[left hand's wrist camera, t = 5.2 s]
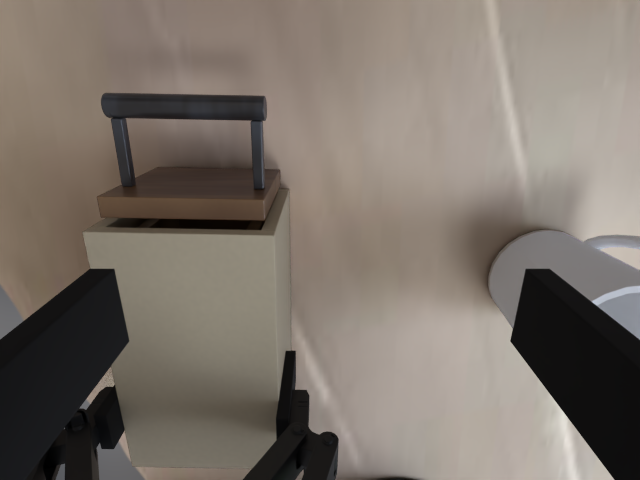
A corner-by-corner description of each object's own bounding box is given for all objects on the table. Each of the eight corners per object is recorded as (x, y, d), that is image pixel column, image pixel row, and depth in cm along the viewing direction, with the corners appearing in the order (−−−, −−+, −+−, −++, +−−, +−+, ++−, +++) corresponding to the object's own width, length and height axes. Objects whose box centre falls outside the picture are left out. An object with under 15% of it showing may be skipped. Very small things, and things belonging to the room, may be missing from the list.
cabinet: (157, 186, 30) (81, 231, 21) (289, 189, 30) (274, 235, 21) (181, 368, 36) (132, 466, 27) (291, 370, 36) (280, 469, 27)
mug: (540, 336, 35) (624, 432, 25) (459, 291, 33) (515, 374, 23) (635, 235, 31) (774, 302, 22) (549, 179, 30) (658, 224, 20)
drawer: (147, 91, 27) (76, 93, 19) (278, 94, 27) (260, 96, 19) (181, 349, 35) (140, 425, 27) (283, 351, 35) (272, 427, 27)
